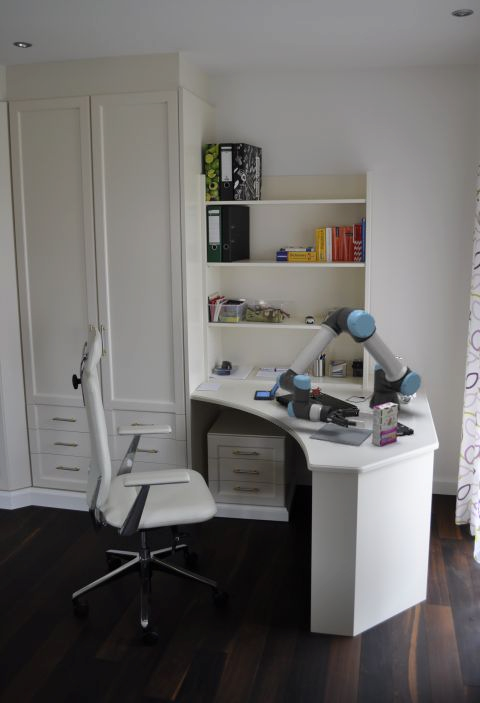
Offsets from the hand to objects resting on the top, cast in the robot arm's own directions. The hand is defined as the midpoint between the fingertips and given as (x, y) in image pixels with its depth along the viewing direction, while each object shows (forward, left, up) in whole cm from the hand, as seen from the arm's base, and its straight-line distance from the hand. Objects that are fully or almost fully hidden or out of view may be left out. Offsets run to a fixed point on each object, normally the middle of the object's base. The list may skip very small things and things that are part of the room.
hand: (369, 420), depth 287 cm
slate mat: (-1, -12, -9) cm, 15 cm away
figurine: (-53, -45, -9) cm, 71 cm away
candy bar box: (0, +7, -9) cm, 11 cm away
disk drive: (-18, +7, -10) cm, 22 cm away
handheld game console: (-44, -67, -9) cm, 81 cm away
